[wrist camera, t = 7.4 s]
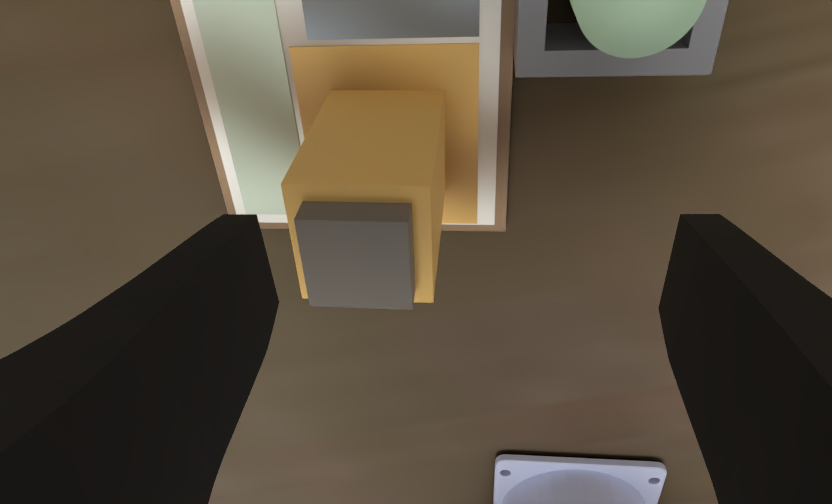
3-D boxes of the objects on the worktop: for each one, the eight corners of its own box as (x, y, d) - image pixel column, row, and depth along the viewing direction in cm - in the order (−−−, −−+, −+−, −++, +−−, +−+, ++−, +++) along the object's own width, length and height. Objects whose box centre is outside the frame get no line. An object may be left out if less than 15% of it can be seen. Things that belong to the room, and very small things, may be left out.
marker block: (445, 190, 21) (431, 324, 15) (342, 188, 21) (294, 319, 16) (444, 90, 19) (427, 205, 13) (330, 90, 19) (271, 202, 14)
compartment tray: (505, 223, 22) (506, 235, 22) (236, 220, 23) (229, 232, 23) (518, -76, 16) (519, -71, 16) (161, -62, 18) (149, -57, 17)
